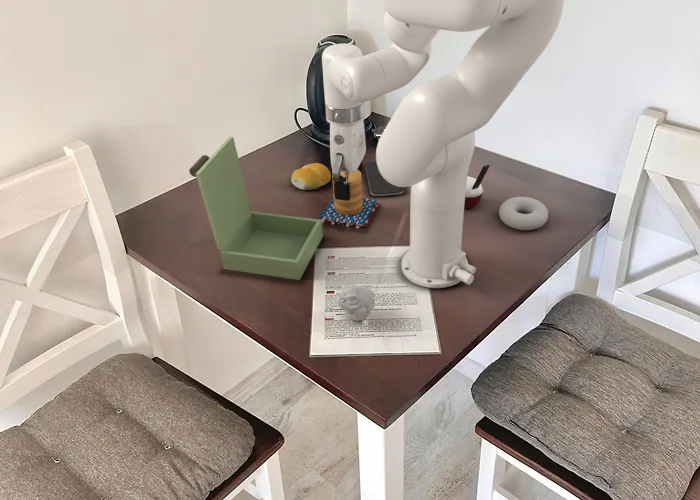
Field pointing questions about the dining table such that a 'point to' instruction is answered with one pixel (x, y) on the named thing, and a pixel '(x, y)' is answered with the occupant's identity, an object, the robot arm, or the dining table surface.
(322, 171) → the bread roll
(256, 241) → the box
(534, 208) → the donut
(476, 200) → the cocoa
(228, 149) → the box lid
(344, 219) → the woven mat
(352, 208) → the cookies
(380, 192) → the smartphone
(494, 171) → the dining table surface
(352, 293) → the frog figurine
